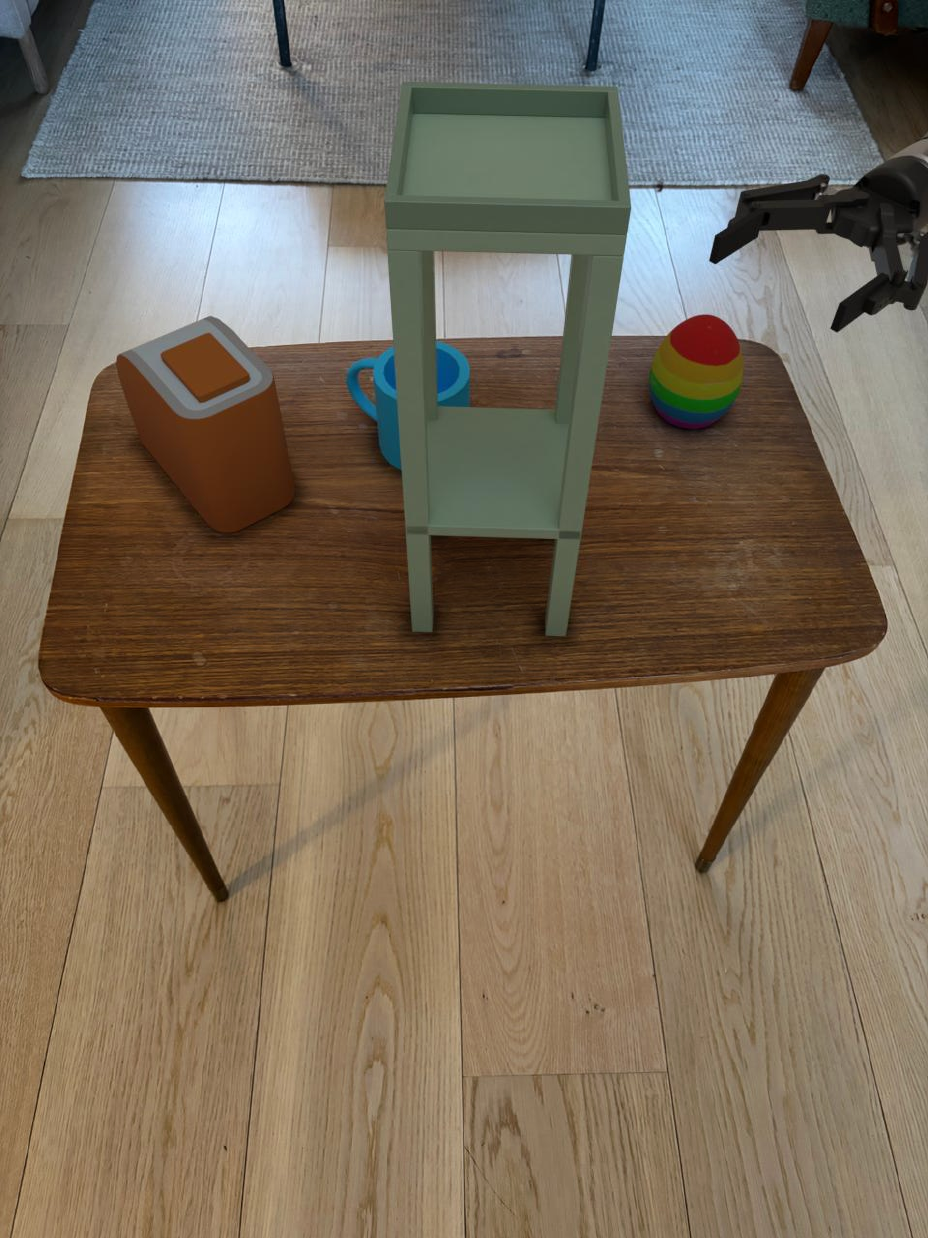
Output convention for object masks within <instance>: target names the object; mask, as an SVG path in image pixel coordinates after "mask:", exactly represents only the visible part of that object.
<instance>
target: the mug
mask: <svg viewBox="0 0 928 1238" xmlns="http://www.w3.org/2000/svg"><path fill="white" fill-rule="evenodd" d="M436 349H437V394H438V406H444V407H471V405H470V403H471V402H470V401H471V400H470V397H471V396H470V395H471V394H470V393H471V392H470V391H471V367H470V365H469V362H468V359H467V357H466V356H465V355H464V354H463V353H461V352H460V351H459V349H457V348H455V347H453V346H451V345H450V344H448V343H444V342H442V341H437V340H436ZM363 370H373V371H372V377H373V388H374V398H375V404H374V403H373V402H372V401H371V400H370V399H369V398H368V397H367V395H366V394H365V392H364V390H363V389H362V387H361V386H360V382H359V373H361V372H362V371H363ZM345 379H346V380H345V384H346V387H347V391H348V393H349V394H350V396H351V398H352V400H353V401H354V403H355V404H356V405H357V406H358V407H359V408H360V409H361V410H362V412H363V413H365V414H366V415H367V416H369V417H370V418H371V419H372V420H374V421H375V422H376V423H377V435H378V446H379V448H380V451H381V455H382V456H383V458H384V459H385V460H386V462H388V463H389V465H391V466H393V467H394V468H396V469H397V470H400V471H402V469H401V453H400V438H399V423H398V407H397V392H396V377H395V362H394V346H391V347H389V348H388V349H386V350H385V351H384V352H383V353H381V354H380V355H379V356H378V357H364V358H362V359H359V360H356V361H354V362H353V363H352V365H350V367H349V368H348V370H347V371H346V378H345Z"/></svg>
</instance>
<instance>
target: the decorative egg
mask: <svg viewBox="0 0 928 1238" xmlns="http://www.w3.org/2000/svg"><path fill="white" fill-rule="evenodd" d="M743 377H744V358H743V351H742V346H741V344H740V341H739V339H738V336H737V334H736V333H735V332H734V330H733V328H732V327H731V326H730V325H729V324H728V322H726V321H725V320H724V319H722V318H720V317H719V316H716V315H713V314H708V313H707V314H706V313H705V314H704V313H703V314H697V315H694V316H691V317H689V318H687V319H685V320H683V321H682V322H679V324H677V325H676V326H675V327H673V328H672V329H671V331H669V333H668V334H667V335H666V336H665V337H664V338H663V340H662V341H661V342H660V344H659V346H658V348H657V350H656V351H655V354H654V356H653V359H652V362H651V365H650V369H649V377H648V388H649V394H650V395H649V396H650V398H651V401H652V404H653V406H654V408H655V410H656V411H657V413H658V414H659V415H660V416H661V417H662V418H663V419H664V420H665V422H667V423H669V424H670V425H673V426H675V427H678V428H682V429H688V430H695V429H702V428H706V427H708V426H710V425H712V424H715V423H716V422H717V421H719V420H720V419H721V418H722V417H724V415H726V414H727V413H728V411H729V410H730V409H731V408H732V406H733V404H734V403H735V401H736V399H737V397H738V395H739V393H740V390H741V386H742V382H743Z"/></svg>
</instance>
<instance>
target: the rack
mask: <svg viewBox="0 0 928 1238" xmlns="http://www.w3.org/2000/svg"><path fill="white" fill-rule="evenodd" d="M400 87H401V88H400V93H399V100H398V107H397V113H396V120H395V127H394V133H393V141H392V147H391V153H390V158H389V166H388V173H387V180H386V186H385V193H384V200H383V205H384V218H385V219H384V222H385V223H384V224H385V237H386V249H387V250H386V251H387V267H388V281H389V282H388V284H389V298H390V299H389V300H390V314H391V328H392V343H393V344H392V345H393V346H394V362H395V377H396V392H397V407H398V423H399V438H400V453H401V469H402V470H401V484H402V497H403V498H402V500H403V512H404V527H405V544H406V558H407V559H406V560H407V573H408V574H407V575H408V591H409V604H410V620H411V631H412V632H413V633H433V629H434V619H435V618H434V617H435V616H434V615H435V614H434V590H433V589H434V587H433V585H434V584H433V560H432V558H433V557H432V555H433V554H432V536H447V537H480V538H481V537H482V538H509V539H510V538H511V539H512V538H513V539H542V540H544V539H545V540H554V543H553V551H552V552H553V554H552V559H551V567H550V568H551V569H550V577H549V585H548V593H547V602H546V610H545V619H544V631H545V633H544V634H545V635H544V636H546V637H566V636H567V631H568V626H569V619H570V618H569V617H570V612H571V605H572V599H573V593H574V592H573V591H574V586H575V579H576V573H577V572H576V571H577V565H578V560H579V552H580V546H581V540H582V532H583V527H584V520H585V515H586V514H585V513H586V508H587V507H586V506H587V500H588V493H589V487H590V482H591V481H590V480H591V475H592V467H593V461H594V455H595V448H596V441H597V435H598V427H599V423H600V422H599V421H600V414H601V409H602V403H603V396H604V390H605V389H604V388H605V382H606V377H607V370H608V364H609V356H610V351H611V350H610V349H611V345H612V344H611V343H612V337H613V331H614V323H615V316H616V310H617V305H618V304H617V303H618V298H619V297H618V296H619V290H620V284H621V278H622V271H623V265H624V258H625V257H624V256H625V252H626V245H627V240H628V239H627V238H628V233H629V227H630V226H629V225H630V220H631V213H632V202H631V192H630V191H631V190H630V183H629V174H628V166H627V156H626V148H625V138H624V131H623V122H622V121H623V120H622V113H621V104H620V95H619V88H618V86H612V85H611V86H609V85H568V84H567V85H565V84H522V83H520V84H519V83H479V82H477V83H475V82H473V83H472V82H437V81H436V82H435V81H434V82H432V81H431V82H430V81H429V82H428V81H426V82H425V81H402V82H401V86H400ZM435 252H452V253H453V252H455V253H456V252H457V253H458V252H459V253H489V254H490V253H493V254H494V253H495V254H497V253H498V254H502V253H503V254H533V255H534V254H536V255H570V265H569V275H568V283H567V293H566V303H565V312H564V322H563V331H562V340H561V341H562V342H561V351H560V361H559V371H558V379H557V388H556V399H555V409H546V408H543V409H542V408H515V407H513V408H511V407H510V408H509V407H478V406H477V407H475V406H473V407H472V406H470V407H444V406H438V394H437V349H436V341H437V307H436V305H437V304H436V261H435ZM393 346H392V347H393Z"/></svg>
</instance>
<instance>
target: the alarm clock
mask: <svg viewBox="0 0 928 1238" xmlns="http://www.w3.org/2000/svg"><path fill="white" fill-rule="evenodd" d="M115 366H116V370H117V377H118V381H119V383H120V386H121V387H120V388H121V389H122V392H123V395H124V398H125V400H126V403H127V407H128V409H129V412H130V415H131V418H132V420H133V424H134V426H135V430H136V432H137V435H138V438H139V440H140V443H141V444H142V446H143V447H144V448H145V449H146V450H147V451H148V454H150V455H151V457H152V458H153V459H154V460H155V461H156V463H157V464H158V465H159V467H161V469H162V470H163V471H164V472H165V474H166V475H167V476H168V477H169V479H170V480H171V481H172V482H173V483H174V484H175V486H176V487H177V488H178V490H179V491H180V492H181V493H182V494H183V496H184V497H185V498H186V500H187V501H188V502H189V503H190V505H191V506H192V507H193V508H194V509H195V511H196V512H197V513H198V515H199V516H200V517H201V518H202V519H203V521H204V522H205V523H206V524H207V526H208V527H210V528H211V529H212V530H214V531H216V532H218V533H222V534H231V533H236V532H239V531H242V530H245V529H246V528H247V527H249V526H252V525H254V524H255V523H258V522H259V521H261V520H263V519H265V518H267V517H269V516H271V515H273V514H274V513H276V512H278V511H281V510H282V509H285V508H286V507H287V506H289V505H290V504H291V502H293V500H294V498H295V496H296V486H295V480H294V477H293V476H294V474H293V471H292V465H291V459H290V455H289V449H288V444H287V440H286V434H285V427H284V423H283V422H284V421H283V418H282V412H281V407H280V402H279V401H280V400H279V397H278V391H277V385H276V381H275V375H274V373H273V371H272V370H271V369H270V368H269V367H268V366H267V365H266V364H265V363H264V361H263V360H261V358H260V357H259V356H258V355H257V354H256V353H255V352H254V351H253V350H252V349H251V348H250V347H249V346H248V344H246V343H245V342H244V341H243V340H242V339H241V338H240V337H239V335H238V334H237V333H236V332H235V331H234V329H232V328H231V327H229V326H228V325H227V323H225V322H223V321H222V320H221V319H220V318H217V317H215V316H212V315H208V316H207V317H204V318H201V319H199V320H196V321H195V322H194V321H193V322H192V323H189V324H187V325H185V326H182V327H180V328H178V329H175V330H173V331H170V332H168V333H166V334H163V335H161V336H159V337H157V338H154V339H151V340H149V341H147V342H144V343H142V344H140V345H137V346H135V347H133V348H131V349H128V350H125V351H123V352H121V353H118V354H117V356H116V360H115Z"/></svg>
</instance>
